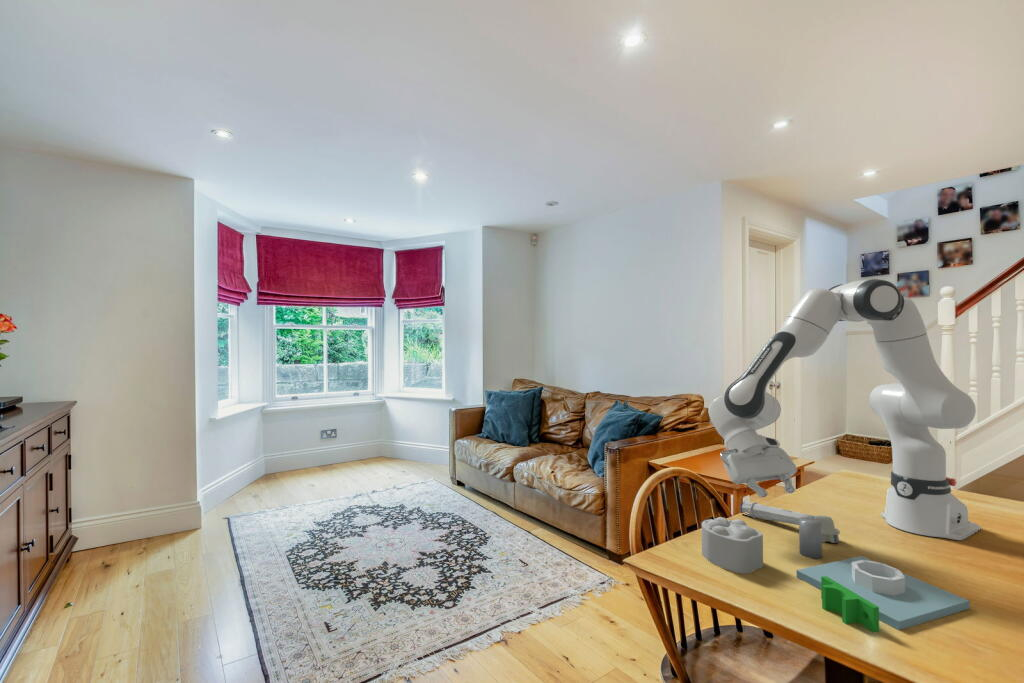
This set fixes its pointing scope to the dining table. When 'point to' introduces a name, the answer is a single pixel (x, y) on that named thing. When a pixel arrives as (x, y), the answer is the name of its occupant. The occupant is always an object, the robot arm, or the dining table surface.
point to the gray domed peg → (810, 537)
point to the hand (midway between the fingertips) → (778, 494)
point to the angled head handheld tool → (790, 518)
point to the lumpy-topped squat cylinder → (732, 545)
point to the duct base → (892, 605)
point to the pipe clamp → (849, 605)
